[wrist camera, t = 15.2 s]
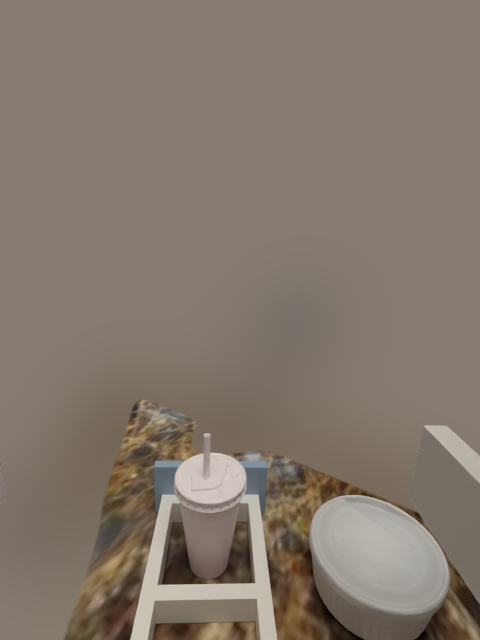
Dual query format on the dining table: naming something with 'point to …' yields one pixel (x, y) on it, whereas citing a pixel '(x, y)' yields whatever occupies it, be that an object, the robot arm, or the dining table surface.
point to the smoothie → (209, 508)
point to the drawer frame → (206, 598)
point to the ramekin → (377, 568)
